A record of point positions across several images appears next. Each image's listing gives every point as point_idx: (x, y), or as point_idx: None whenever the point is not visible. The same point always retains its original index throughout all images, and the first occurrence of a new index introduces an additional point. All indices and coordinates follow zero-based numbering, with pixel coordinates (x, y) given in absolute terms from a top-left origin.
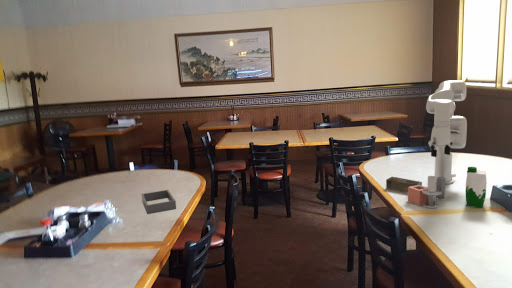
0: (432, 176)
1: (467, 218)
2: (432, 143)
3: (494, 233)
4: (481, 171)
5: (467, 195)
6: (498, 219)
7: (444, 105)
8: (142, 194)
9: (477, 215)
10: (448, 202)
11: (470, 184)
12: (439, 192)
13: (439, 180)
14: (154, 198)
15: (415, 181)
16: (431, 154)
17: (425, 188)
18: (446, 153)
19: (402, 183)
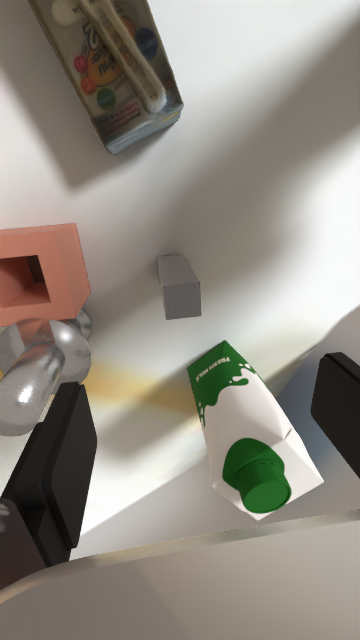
0: (17, 410)
1: (103, 437)
2: (64, 609)
3: (91, 507)
4: (299, 483)
5: (196, 392)
6: (174, 460)
7: None
8: None
9: (149, 430)
10: (161, 317)
11: (205, 441)
12: (73, 380)
13: (163, 299)
14: None
15: (138, 78)
16: (36, 426)
17: (47, 307)
18: (321, 393)
19: (42, 26)
